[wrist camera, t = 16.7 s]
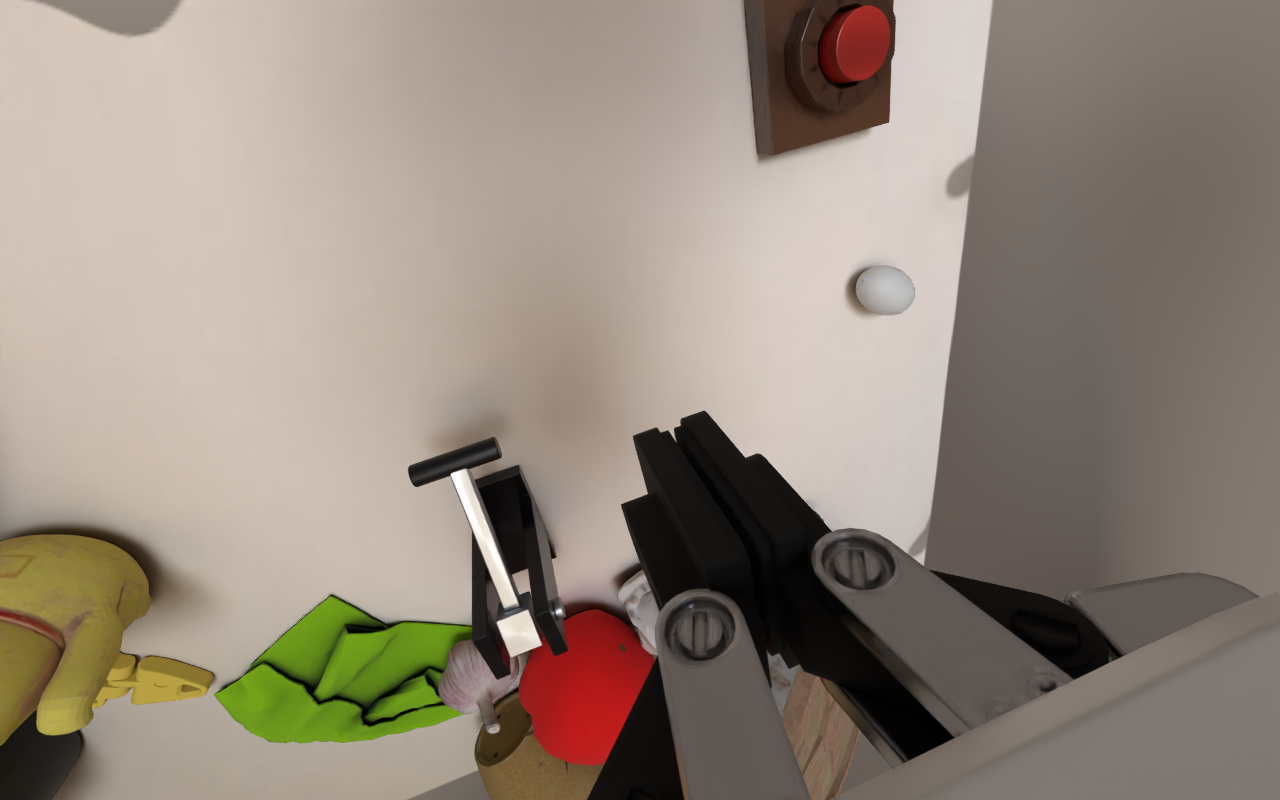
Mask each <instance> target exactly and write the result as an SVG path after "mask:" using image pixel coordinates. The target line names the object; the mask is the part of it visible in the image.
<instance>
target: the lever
mask: <svg viewBox="0 0 1280 800" xmlns="http://www.w3.org/2000/svg"><path fill="white" fill-rule="evenodd" d="M500 458H502V453H501V449H500V446H499V443H498V441H497V439H496V438H495V437H492V438H489V439H486V440H483V441H480V442H477V443H474V444H471V445H468V446H466V447H463V448H460V449H457V450H454V451H451V452H448V453H445V454H442V455H439V456H436V457H433V458H430V459H427V460H424V461H421V462H418V463H416V464H413V465H410V466H409V467H408V473H409V477H410V480H411V482H412V484H413V485H414V486H415V487H419V486H422V485H425V484H428V483H431V482H434V481H437V480H439V479H442V478H445V477H448V476H450V477H451V479H452V482H453V484H454V487H455V489H456V492H457V494H458V497H459V499H460V502H461V504H462V507H463V509H464V512H465V514H466V517H467V519H468V522H469V524H470V527H471V529H472V532H473V534H474V537H475V539H476V542H477V544H478V547H479V549H480V552H481V554H482V557H483V559H484V562H485V564H486V567H487V569H488V572H489V574H490V577H491V579H492V582H493V584H494V587H495V589H496V592H497V594H498V597H499V599H500V603H499V606H498V612H497V619H496V623H497V626H498V628H499V631H500V633H501V636H502V638H503V641H504V643H505V646H506V648H507V651H508V653H509V656H510V658H512V657H515V656H517V655H520V654H522V653H524V652H527V651H529V650H532V649H534V648H537V647H539V646H542V631H541V629H540V627H539V625H538V623H537V621H536V619H535V617H534V611H533V603H532V597H531V594H530V592H529V591H528V592H526V593H523V594H521V595H519V593H518V590H517V587H516V585H515V582H514V580H513V577H512V575H511V572H510V570H509V567H508V564H507V562H506V559H505V557H504V554H503V552H502V549H501V547H500V544H499V541H498V539H497V536H496V534H495V531H494V529H493V526H492V524H491V521H490V518H489V516H488V513H487V511H486V508H485V506H484V503H483V500H482V498H481V495H480V493H479V490H478V488H477V485H476V483H475V480H474V477H473V475H472V472H471V470H470V469H471V468H474V467H477V466H480V465H483V464H486V463H488V462H491V461H494V460H497V459H500Z"/></svg>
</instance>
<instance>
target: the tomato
mask: <svg viewBox="0 0 1280 800" xmlns="http://www.w3.org/2000/svg"><path fill="white" fill-rule="evenodd" d="M563 623H564V628H565V634H566V639H567V644H568V651H567V652H565V653H562V654H560V655H557V656H554V654H553V652H552V650H551V648H550V646H549V644H548V642H547V640H546V639H545V637H543V638H542V646H539V647H537V648H534V649H533V650H532V653H531V655H530V657H529V660H528V662H527V664H526V667H525V669H524V671H523V673H522V676H521V678H520V683H519V701H520V703H521V705H522V706H523V708H524V709H525V710H526V711H527V712H528V713H529V714H530V715H531V716H532V725H533V730H532V731H530V732H528V733H526V734H524V735H523V736H529V735H532V734H534V737H535V738H536V739H537V741H538V742H539V743H540V745H541V746H542V747H543V748H544V750H545V751H546V752H547V754H549V755H552V756H554V757H557V758H559V759H561V760H564V761H565V764H566V769H567V775H568V764H567V762H569V763H571V764H580V765H600V764H603V763H605V762H606V760H607V758H608V756H609V754H610V751H611V749H612V747H613V745H614V743H615V741H616V739H617V737H618V735H619V733H620V731H621V729H622V727H623V725H624V723H625V721H626V719H627V717H628V715H629V713H630V711H631V709H632V707H633V704H634V702H635V700H636V698H637V696H638V694H639V692H640V690H641V688H642V686H643V684H644V682H645V680H646V678H647V676H648V674H649V672H650V670H651V668H652V666H653V664H654V662H655V659H654V658H653V656H652V655H651V654H650V653H649V652H647V651H646V650H645V649H644V648H643V647H642V646H641V642H640V638H639V635H638V634H637V633H636V632H635V631H634V630H633V629H631V628H630V627H629V626H628V625H627V624H625V623H624V622H623V621H622V620H620V619H619V618H616V617H614V616H612V615H610V614H607V613H605V612H603V611H601V610H598V609H595V610H588V611H585V612H582V613H579V614H576V615H574V616H572V617H570V618H569V619H567V620H565V621H564V622H563Z"/></svg>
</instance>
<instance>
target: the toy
mask: <svg viewBox="0 0 1280 800" xmlns="http://www.w3.org/2000/svg"><path fill="white" fill-rule="evenodd" d="M135 662H136V658H135V657H134V656H132V655H125V654H122V653H121V652H120V651H119V653H118V656H117V659H116V661H115V663H114V665H113V667H112V669H111V671H110V673H109V675H108V677H107V679H106V681H105V683H104V685H103V687H102V689H101V691H100V692H99V694H98V696H97V698H96V699H95V701H94V703H93V705H92V708H98V707H101V706H102V705H104V704H105V702H106V701H107V699H111V698H119V697H121V696H123V695H125V694H126V693H128V692H129V690H130V689H131V687H134V688H133V694H132V699H131V702H132V703H133V704H135V705H140V704H149V703H157V702H166V701H174V700H181V699H188V698H195V697H200V696H203V695H205V694H206V693H207V691H208V689H209V687H210V685H211V683H212V680H213V678H214V675H213V674H212V673H211V672H209V671H206V670H203V669H200V668H197V667H194V666H191V665H188V664H184V663H181V662H178V661H175V660H171V659H166V658H161V657H155V656H151V657H146V658H144V659H142V660H141V661H140V662H139V663H138V666H135Z"/></svg>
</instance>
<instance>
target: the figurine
mask: <svg viewBox="0 0 1280 800" xmlns="http://www.w3.org/2000/svg"><path fill="white" fill-rule="evenodd" d="M150 604H151V597H150V595H149V583H148V580H147V578H146V576H145V574H144V572H143V571H142V569H141V567H140V566H139V565H138V563H137V562H136V561H135V560H134V559H133V558H132V557H131V556H130V555H129V554H127V553H126V552H125V551H123V550H122V549H120V548H119V547H117V546H115V545H113V544H110V543H108V542H105V541H102V540H98V539H94V538H89V537H83V536H76V535H30V536H22V537H17V538H12V539H7V540H3V541H0V746H1V745H2V744H3V743H5V741H6V740H7V739H8V738H9V736H10V735H11V734H12V733H13V732H14V731H15V730H16V729H17V728H18V727H19V726H20V725H21V724H22V723H23V722H24V721H25V720H26V719H27V718H28V717H29V716H30V715H31V714H32V713H33V712H34V711H35V710H36V709H37V721H36V724H37V729H38V730H39V732H41V733H43V734H46V735H61V734H68V733H71V732H74V731H76V730H79V729H81V728H83V727H85V726H86V725H88V724H89V722H90V721H91V720H92V718H93V715H94V714H93V711H92V705H93V703H94V701H95V699H96V698H97V696H98V694H99V692H100V691H101V689H102V687H103V685H104V683H105V681H106V679H107V677H108V675H109V673H110V671H111V669H112V667H113V665H114V663H115V661H116V659H117V656H118V653H119V650H120V648H121V643H122V636H123V631H124V630H125V629H127V628H128V627H129V626H130V625H131V624H132V622H133V621H134V620H135V619H137V618H141V617H143V616H144V615H145V614H146V613H147V611H148V609H149V607H150Z"/></svg>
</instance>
